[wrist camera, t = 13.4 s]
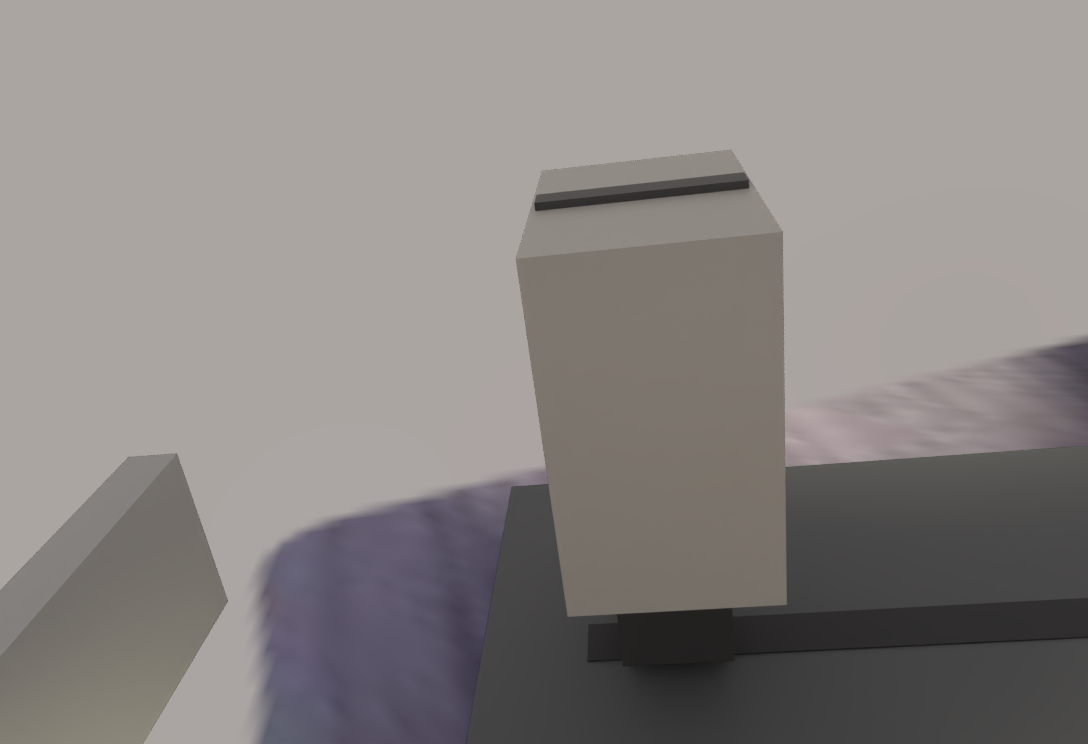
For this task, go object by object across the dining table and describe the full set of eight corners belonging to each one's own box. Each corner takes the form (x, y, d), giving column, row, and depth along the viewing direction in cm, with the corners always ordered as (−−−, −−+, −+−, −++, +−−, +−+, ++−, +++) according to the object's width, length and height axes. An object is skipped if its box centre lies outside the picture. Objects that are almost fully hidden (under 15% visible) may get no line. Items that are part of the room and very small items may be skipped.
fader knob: (744, 540, 23) (731, 142, 18) (788, 725, 17) (782, 221, 13) (589, 550, 23) (541, 163, 19) (584, 733, 18) (514, 249, 13)
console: (1374, 513, 26) (1404, 421, 24) (2117, 1058, 13) (2262, 928, 12) (524, 565, 28) (511, 485, 27) (459, 1055, 16) (428, 949, 14)
